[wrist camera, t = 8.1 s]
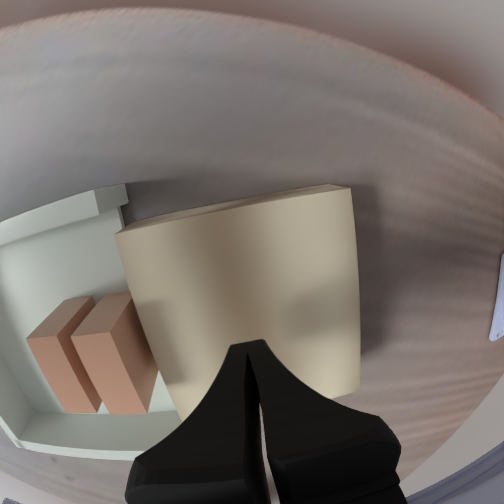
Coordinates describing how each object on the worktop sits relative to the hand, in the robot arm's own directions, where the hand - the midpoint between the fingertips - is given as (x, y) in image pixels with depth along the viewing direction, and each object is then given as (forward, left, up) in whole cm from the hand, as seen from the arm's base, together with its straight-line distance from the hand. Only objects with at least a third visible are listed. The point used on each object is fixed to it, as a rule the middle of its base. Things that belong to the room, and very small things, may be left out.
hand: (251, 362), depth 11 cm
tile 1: (+5, 0, -3) cm, 6 cm away
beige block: (0, 0, -5) cm, 5 cm away
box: (+12, 0, -5) cm, 13 cm away
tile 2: (+8, 0, -3) cm, 8 cm away
